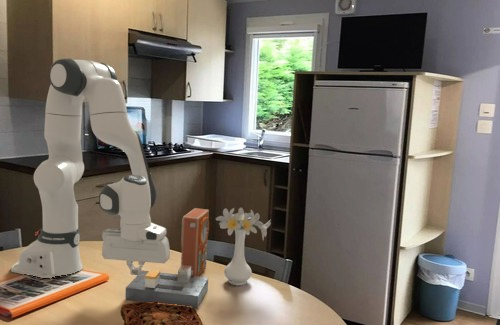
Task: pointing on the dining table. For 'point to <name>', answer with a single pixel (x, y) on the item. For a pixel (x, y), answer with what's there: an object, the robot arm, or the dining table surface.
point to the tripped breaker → (152, 279)
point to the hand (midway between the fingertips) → (136, 274)
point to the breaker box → (170, 288)
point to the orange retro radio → (195, 240)
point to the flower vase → (240, 242)
